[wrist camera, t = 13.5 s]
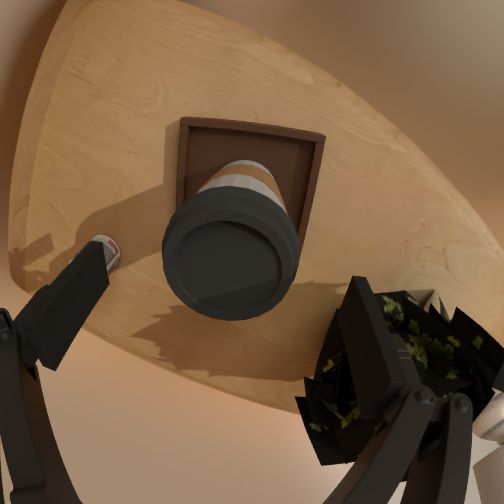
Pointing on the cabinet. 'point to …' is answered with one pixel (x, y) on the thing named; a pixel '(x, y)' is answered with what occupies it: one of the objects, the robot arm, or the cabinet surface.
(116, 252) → the pill bottle
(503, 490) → the lamp
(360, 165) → the cabinet surface
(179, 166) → the tray
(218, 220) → the coffee cup
